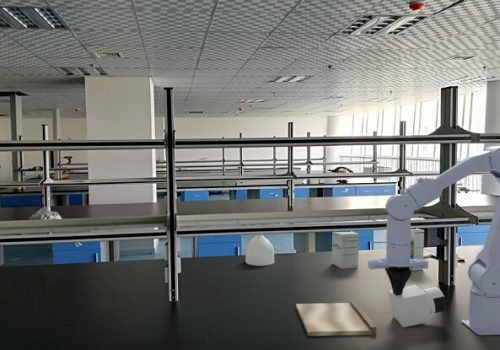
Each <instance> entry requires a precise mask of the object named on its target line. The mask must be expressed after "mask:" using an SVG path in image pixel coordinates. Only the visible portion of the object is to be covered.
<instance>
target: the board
mask: <svg viewBox="0 0 500 350" xmlns="http://www.w3.org/2000/svg"><path fill="white" fill-rule="evenodd" d="M295 305H296V306H295V307H296V311H297V312H298V315H299V317H300V319H301V322H302V324H303V326H304V329H305V331H306V334H307V336H308V337H319V336H320V337H322V336H326V337H327V336H328V337H329V336H364V335H365V336H369V335H370V336H372V335H377V326H376V325H375V324H374V322H373V321H372V320H371V319H370V317H369V316H368V315H367V313H365V311H364V309H362V307H360V305H359V304H358V303H357V301H356V300H355V299H350V300H349V302H332V303H327V302H325V303H321V302H320V303H296V304H295Z"/></svg>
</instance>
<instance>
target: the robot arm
mask: <svg viewBox="0 0 500 350" xmlns="http://www.w3.org/2000/svg"><path fill="white" fill-rule="evenodd" d="M475 173H489V174H491V175H492V176H494V178H495V179H496V181H497V182H498V184H500V146H499V145H489V146H487V147H485V148H483V149H482V150H479V151H476V152H474V153H473V154H471V155H468V156H467V157H466V158H464V159H462V160H461V161H459V162H458V163H456V164H455V165H453V166H452V167H450V168H448V169H447V170H445V171H444V172H442V173H440V174H439V175H438V176H436V177H431V176H425V177H424V178H423V177H422V176H421V177H418V178H417V179H416V182H415V183H414V184H412V185H410V186H408V187H407V188H405V189H404V188H401V189H400V190H399V192H400V193H395V194H392V195H391V196H390V197H389V198H388V199H387V201H386V204H385V205H384V207H385V210H386V212H387V219H386V220H387V223H386V238H385V239H386V243H385V244H386V247H385V250H386V255H385V258H378V259H376V258H375V259H367V268H368V269H369V270H375V269H378V270H379V269H380V270H381V269H384V270H385V273H386V274H387V276H388V279H389V282H390V284H391V288H392V289H391V290H393V293H394V294H395V295H396V296H398V295H402V292H403V289H404V287H406V284H407V282H408V281H409V279H410V277H411V276H412V271H411V270H409V269H410V268H423V269H422V270H428V269H429V260H426V259H424V258H423V259H410V253H411V228H412V224H411V221H412V220H411V219H412V218H411V217H412V216H413V215H414V212H415V211H416V210H417V211H418V210H420V209H421V208H423V207H425V206H427V205H428V204H431V203H432V202H433V201H436V200H437V199H439V198H440V197H441V196H442V193H443V190H444V189H446V188H448V187H449V186H451V185H453V184H456V183H457V182H459V181H461V180H462V179H463V180H464V179H465V178H467V177H468V176H470V175H472V174H475ZM467 276H468V278H469V280H470V281H471V283H472V284H471V286H470V287H469V309H468V310H469V311H468V313H469V315H468V319H461V323H462V324H463V325H465V326H466V327H467V328H469V329H470V330H471V331H473V332H474V333H475V334H477V335H478V336H497V335H498V336H500V196H499V197H498V200H497V204H496V207H495V209H494V213H493V217H492V218H491V222H490V225H489V229H488V232H487V236H486V239H485V241H484V244H483V248H482V249H481V250H480V251H479V252H478V253H477V255H476V258H475V260H474V261H473V262H472V263H471V264H470V266H469V267H468V269H467Z"/></svg>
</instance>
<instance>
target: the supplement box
mask: <svg viewBox="0 0 500 350" xmlns="http://www.w3.org/2000/svg"><path fill="white" fill-rule="evenodd" d="M350 231H351V232H332V231H331V234H332V236H331V238H332V239H331V245H332V246H331V264H332V265H333V266H336V267H338V268H339V269H341V270H342V269H352V268H359V250H360V249H359V244H360V243H359V242H360V233H358V232H356V231H355V232H354V231H353V230H350Z"/></svg>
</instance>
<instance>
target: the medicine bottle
mask: <svg viewBox="0 0 500 350" xmlns="http://www.w3.org/2000/svg"><path fill="white" fill-rule="evenodd" d="M388 297H389V301H390V306H391V311H392V317H393V318H394V320H396V321H397V322H398V323H399V324H400V326H401V327H402V328H408V327H412V326H416V325H421V324H427V323H430V322H431V321H432V318H431V315H433V314H434V315H435V314H437V313H442V312H445V311H446V309H447V302H446V301H447V300H446V298H445V295H444V294H443V291H442V290H441V289H440V288H439V287H436V286H433V287H429V288H428V287H427V288H424V289H420V288H419V287H418V286H417V285H415V284H412V285H408V286H405V287H404V289H403V292H402V295H398V296H396V295H395V294H394V293H393V290H392V289H389V290H388Z"/></svg>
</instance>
